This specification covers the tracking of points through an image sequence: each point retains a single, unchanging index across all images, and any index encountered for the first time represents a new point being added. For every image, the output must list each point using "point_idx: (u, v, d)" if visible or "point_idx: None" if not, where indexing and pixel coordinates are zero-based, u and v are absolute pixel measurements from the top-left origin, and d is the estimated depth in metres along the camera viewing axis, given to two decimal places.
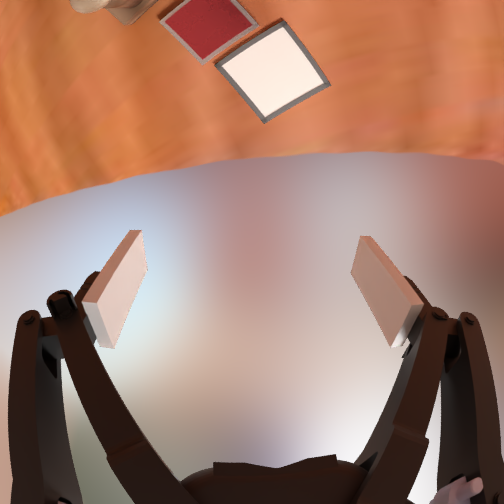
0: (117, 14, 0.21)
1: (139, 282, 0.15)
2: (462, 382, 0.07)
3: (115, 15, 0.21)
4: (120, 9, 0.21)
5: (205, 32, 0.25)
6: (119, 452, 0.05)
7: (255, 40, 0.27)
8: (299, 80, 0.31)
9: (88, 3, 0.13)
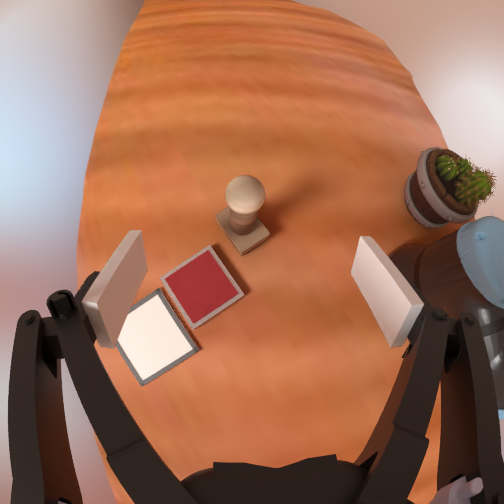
0: (228, 210, 0.41)
1: (139, 282, 0.15)
2: (462, 382, 0.07)
3: (228, 208, 0.41)
4: None
5: (190, 283, 0.39)
6: (119, 452, 0.05)
7: (179, 325, 0.39)
8: (143, 359, 0.37)
9: (232, 191, 0.30)
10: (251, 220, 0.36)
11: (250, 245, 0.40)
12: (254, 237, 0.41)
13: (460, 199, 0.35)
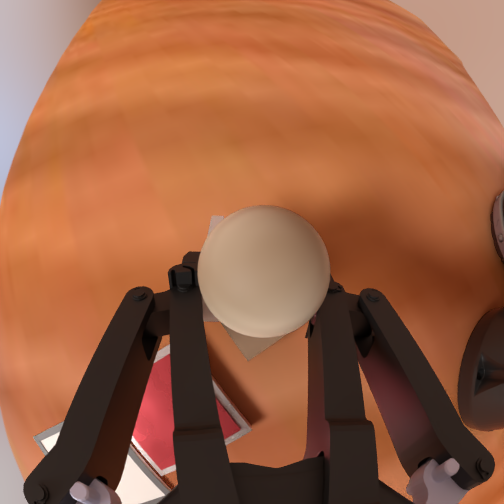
0: None
1: None
2: (388, 367, 0.08)
3: None
4: None
5: (148, 408, 0.17)
6: (188, 431, 0.05)
7: (140, 464, 0.17)
8: None
9: (218, 275, 0.08)
10: None
11: (265, 345, 0.18)
12: None
13: None
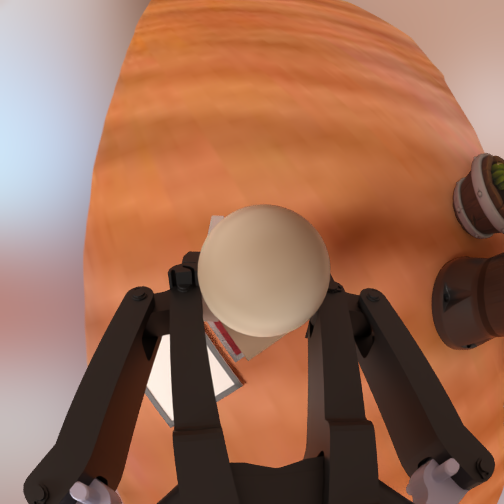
0: None
1: None
2: (388, 367, 0.08)
3: None
4: None
5: None
6: (188, 431, 0.05)
7: (218, 357, 0.31)
8: (171, 397, 0.30)
9: (217, 274, 0.08)
10: None
11: (265, 345, 0.18)
12: None
13: None
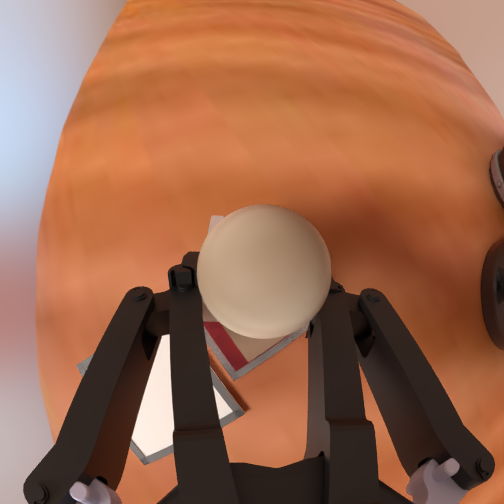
0: None
1: None
2: (388, 367, 0.08)
3: None
4: None
5: None
6: (188, 431, 0.05)
7: None
8: (144, 426, 0.19)
9: (217, 275, 0.08)
10: None
11: (266, 347, 0.18)
12: None
13: None
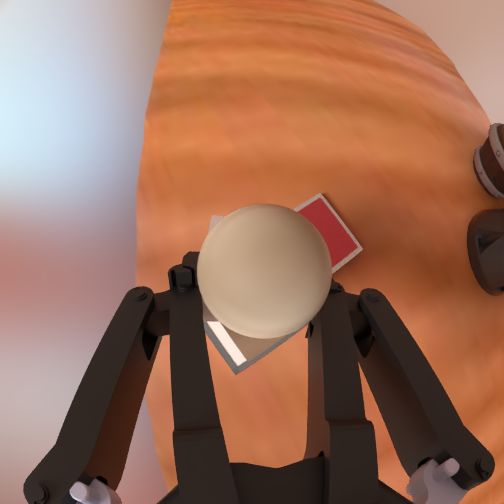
0: None
1: None
2: (388, 367, 0.08)
3: None
4: None
5: None
6: (188, 431, 0.05)
7: None
8: None
9: (217, 275, 0.08)
10: None
11: (266, 346, 0.18)
12: None
13: None
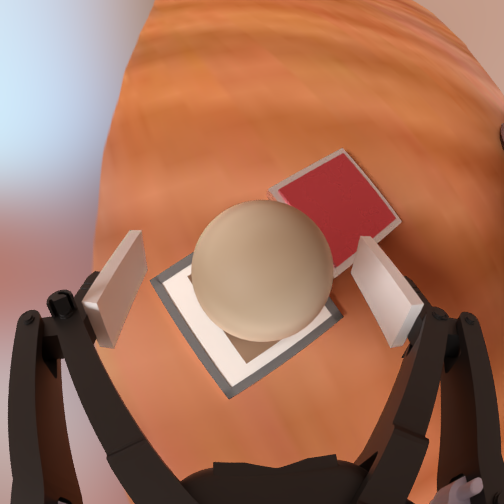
0: None
1: (139, 282, 0.15)
2: (462, 382, 0.07)
3: None
4: None
5: (324, 199, 0.23)
6: (119, 452, 0.05)
7: None
8: None
9: (212, 274, 0.07)
10: None
11: (264, 348, 0.18)
12: None
13: None
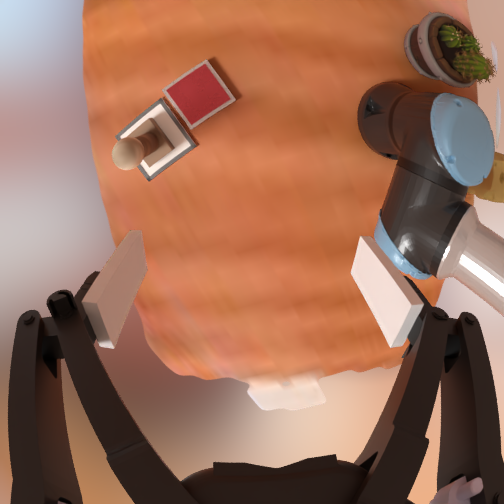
0: (136, 131, 0.40)
1: (139, 282, 0.15)
2: (462, 382, 0.07)
3: (136, 129, 0.40)
4: (140, 133, 0.40)
5: (188, 92, 0.39)
6: (119, 452, 0.05)
7: (179, 127, 0.43)
8: None
9: (113, 160, 0.32)
10: (144, 157, 0.38)
11: (155, 161, 0.43)
12: (159, 154, 0.42)
13: (456, 67, 0.27)
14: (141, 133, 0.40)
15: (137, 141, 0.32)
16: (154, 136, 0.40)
